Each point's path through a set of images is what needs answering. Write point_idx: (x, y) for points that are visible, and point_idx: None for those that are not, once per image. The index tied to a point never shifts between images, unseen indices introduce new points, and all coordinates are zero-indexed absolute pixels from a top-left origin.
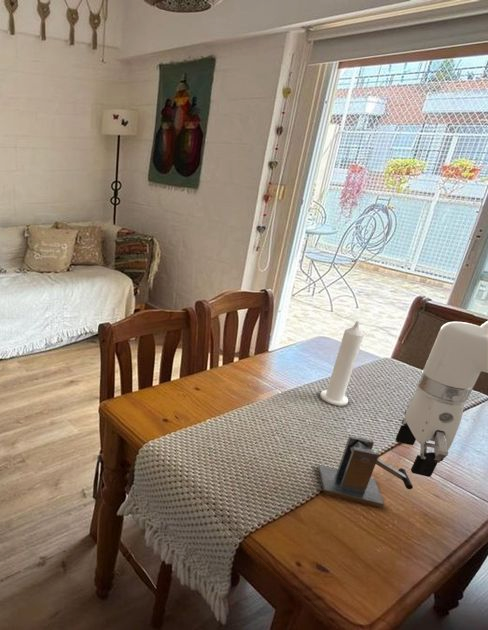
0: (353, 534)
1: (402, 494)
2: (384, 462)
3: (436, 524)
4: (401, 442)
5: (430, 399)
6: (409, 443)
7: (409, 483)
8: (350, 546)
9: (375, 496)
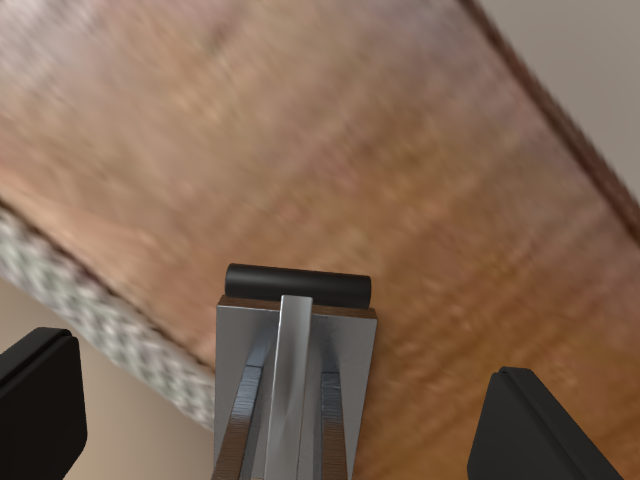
0: None
1: (263, 199)
2: (275, 441)
3: (417, 128)
4: (82, 418)
5: None
6: (72, 370)
7: (359, 300)
8: None
9: (339, 336)
